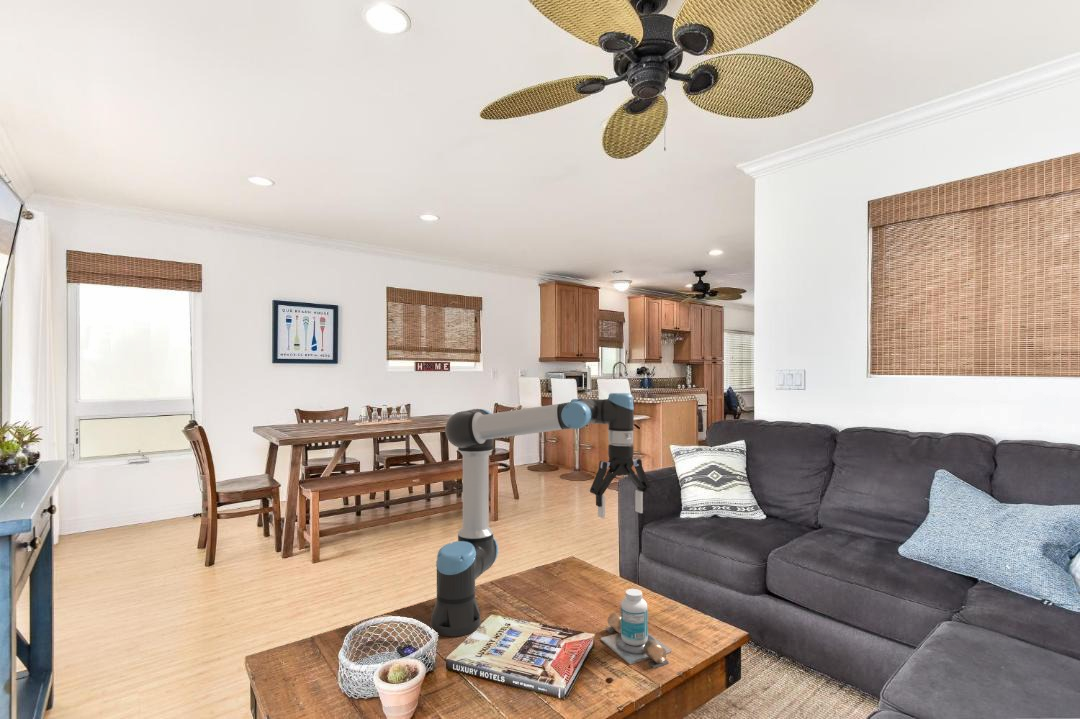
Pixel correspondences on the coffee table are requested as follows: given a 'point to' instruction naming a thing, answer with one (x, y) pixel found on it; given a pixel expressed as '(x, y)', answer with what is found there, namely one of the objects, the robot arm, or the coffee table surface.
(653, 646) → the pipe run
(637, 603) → the pill bottle
